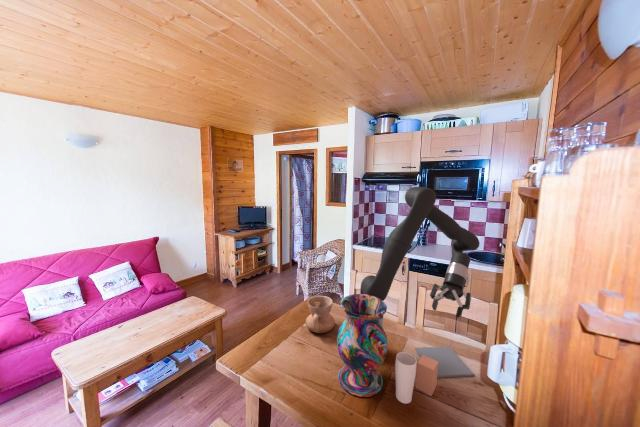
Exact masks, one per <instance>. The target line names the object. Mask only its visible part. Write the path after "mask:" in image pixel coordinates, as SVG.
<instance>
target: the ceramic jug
mask: <svg viewBox="0 0 640 427" xmlns="http://www.w3.org/2000/svg"><path fill="white" fill-rule="evenodd" d="M316 303H318V305H317V306H316ZM307 307H308V310H309V312H310V314H309V315H308V316H307V318H305V326H306V328H307V329H308V330H309V331H311V332H313V333H316V334H324V333H327V332H330V331H331V330H332V329H333V328H334V326H335V318H334V317H333V315H331V314H330V313H331V310H332V307H333V299H331V297H329V296H327V295H326V296H324V295H314V296H312V297H311V298H309V299H308V300H307Z"/></svg>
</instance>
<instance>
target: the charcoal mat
mask: <svg viewBox="0 0 640 427" xmlns="http://www.w3.org/2000/svg"><path fill="white" fill-rule="evenodd" d="M414 350H415V352H416V353H417V355H418V357H419V359H420V358H421V357H422V355H425V356H427V357H429V358H431V359H434V360H436V361H438V373H437V379H440V378H455V377H456V378H459V377H474V376H475V374H474V373H473V371H472V370H471V369H470V368H469V367H468V366H467V364H466V363H465V362H464V361H463V360H462V359H461V357H460V356H459V355H458V354H457V353H456V352H455V350H454V349H453V348H452V347H451V346H430V347H427V346H425V347H423V346H422V347H415V348H414Z"/></svg>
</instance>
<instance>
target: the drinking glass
mask: <svg viewBox="0 0 640 427" xmlns="http://www.w3.org/2000/svg"><path fill="white" fill-rule="evenodd" d="M417 363H418V360H417V358H416V356H414V355H413V354H412V353H409V352H406V351H400V352H398V353H396V355H395V363H394V364H395V365H394V368H395V369H394V371H395V372H394V374H395V398H396V400H397V401H398V402H400V403H401V404H404V405H406V404H407V405H408V404H410V403H411V402H412V400H413V393H414V387H415V383H416V376H417Z"/></svg>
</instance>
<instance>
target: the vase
mask: <svg viewBox="0 0 640 427" xmlns="http://www.w3.org/2000/svg"><path fill="white" fill-rule="evenodd" d="M340 308H341V309H342V311H343V312H345V315H346V317H345V319H344V321H343V322H342V324H341V325H340V327H339V328H338V332H337V336H336V347H337V351H338V355H339V357H340V359H341V360H342V361H343V364H344V365H343V366H341V368H340V369H339V371H338V375H337V378H338V382H339V384H340V386H341V387H342V388H343V389H344V391H346V392H347V393H349V394H351V395H353V396H357V397H361V398H367V397H372V396H375V395H377V394H378V393H380V391H381V390H382V389H383V386H384V380H383V375H382V374H381V372H380V371H379V370H378V368H380V366H382V364H383V363H384V362H385V359H386V356H387V353H388V346H389V345H388V344H389V343H388V337H387V334H386V331H385V330H384V326H383V327H382V325H381V323H380V321H379V320H380V317H381V316H382V315H383V316H384V315H385V314H386V312H387V309H388V306H387V304H386V303H385V302H384V301H382V300H381V299H379V298H377V297H374V296H371V295H366V294H360V293H356V294H355V293H353V294H350V295H347V296H344V297H343V298H342V299H341V300H340Z"/></svg>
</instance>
